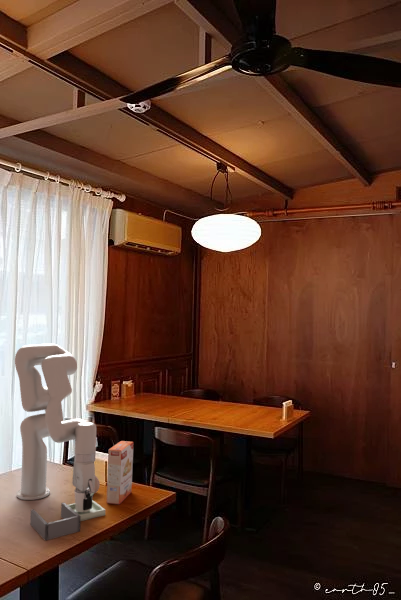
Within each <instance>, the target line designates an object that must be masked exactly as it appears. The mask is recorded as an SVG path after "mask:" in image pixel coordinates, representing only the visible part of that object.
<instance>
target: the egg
mask: <svg viewBox="0 0 401 600" xmlns="http://www.w3.org/2000/svg"><path fill="white" fill-rule="evenodd" d="M99 489H100V480H99V478H98V476H96V475H95V487H94V490H95V493H94V494H96V493H98V492H99ZM94 494H93V495H94Z"/></svg>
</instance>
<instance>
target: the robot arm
mask: <svg viewBox="0 0 401 600" xmlns="http://www.w3.org/2000/svg"><path fill="white" fill-rule="evenodd" d="M14 365H15V366H14V367H15V370H16V373H17V376H18V379H19V390H20V399H21V401H20V402H21V406H22V409H23V410H24V411H25V412H28V413H33V412H40V411H44V413H38V414H33V415H30V416H29V415H28V416H27V417H26V418H24V419H23V420H22V421H21V423H20V427H19V430H20V437H21V446H22V448H21V449H22V450H21V454H22V455H21V457H22V458H21V482H20V483H21V484H20V485H21V486H20V487H21V488H20V490H18V491H17V492H16V497H17V498H18V499H20V500H22V501H23V500H24V501H35V500H40V499H41V500H42V499H43V498H46V497H47V496H49V495H50V494H51V490H50V488H49V487H47V469H48V468H47V467H48V465H47V464H48V448H47V447H48V446H47V445H46V444H45V441H44V440H43V439H44V438H48V437H50V438H51V440H52V441H53V442H54V443H58V444H60V443H61V444H62V443H65V442H70V441H74V462H73V468H72V469H73V470H72V479H71V481H72V482H71V484H72V486H74V487H75V489H79V490H80V491H81V492H84V498H85V499H83V510H89V509H92V500H93V497H94V493H95V490H94V487H95V476H96V471H95V470H96V469H95V462H96V451H97V447H96V446H97V425H96V424H95V423H94V422H91V421H87V420H85V419H83V418H79V417H78V418H72V419H67V420H66V419H65V420H64V414H63V406H62V405H63V404H62V401H63V400H65V399H67V398H68V397H69V396H70V395H71V394H72V393H73V388H72V386H71V383H70V380H69V376H71V375H74V374H75V373H77V369H78V362H77V360H76V358H75V357H74V355H73V354H71V353H70V352H69V351H68V350H66V349H64V348H63V347H62V346H60V345H58V344H56V343H38V344H37V343H36V344H26V345H23V346H21V347H20V348H18V350H17V351H16V354H15V356H14ZM36 366H41V371H42V374H43V377H44V382H45V383H46V386H43V382H42V376H41V373H40V371H38V369H37V368H36ZM87 488H89V489H88V490H86V489H87ZM87 491H89V493H88V494H87V493H86V492H87ZM95 494H96V493H95Z"/></svg>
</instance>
